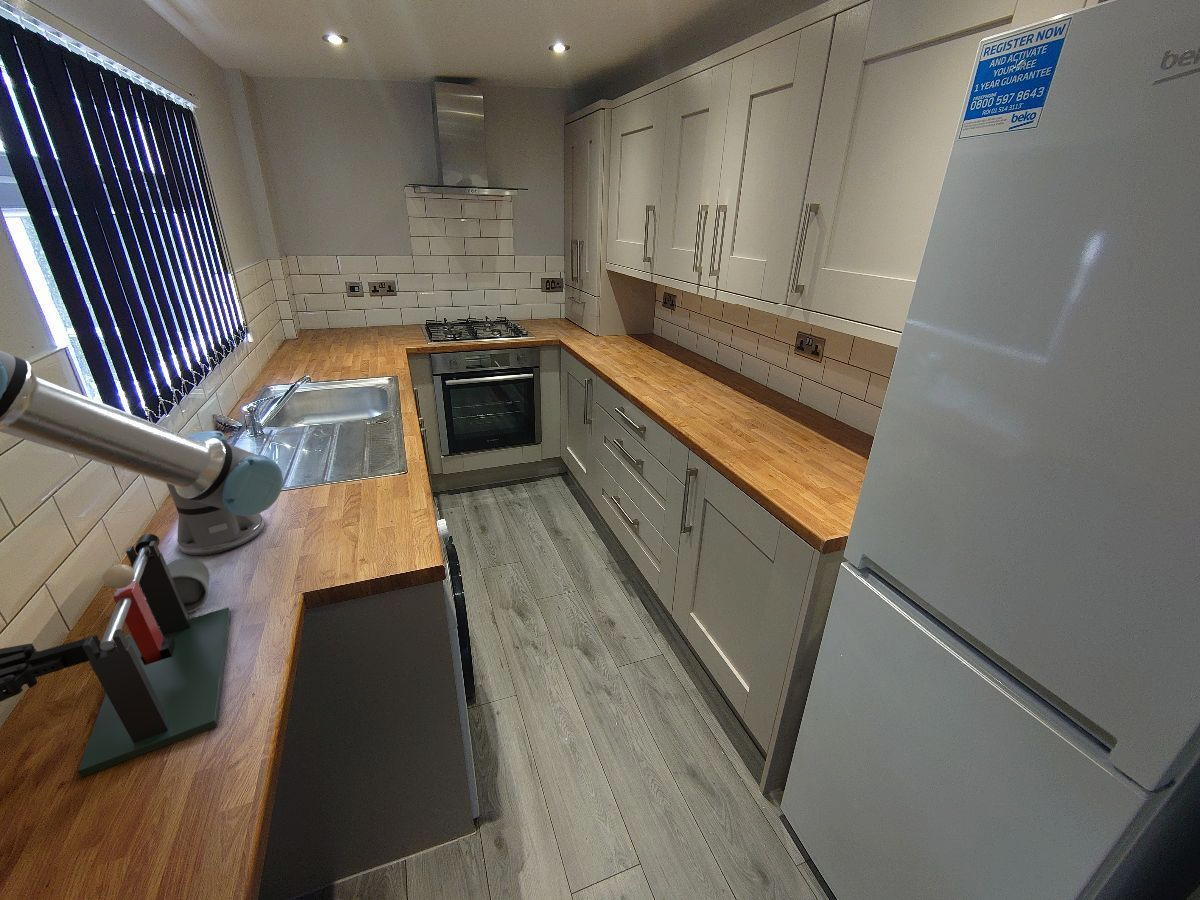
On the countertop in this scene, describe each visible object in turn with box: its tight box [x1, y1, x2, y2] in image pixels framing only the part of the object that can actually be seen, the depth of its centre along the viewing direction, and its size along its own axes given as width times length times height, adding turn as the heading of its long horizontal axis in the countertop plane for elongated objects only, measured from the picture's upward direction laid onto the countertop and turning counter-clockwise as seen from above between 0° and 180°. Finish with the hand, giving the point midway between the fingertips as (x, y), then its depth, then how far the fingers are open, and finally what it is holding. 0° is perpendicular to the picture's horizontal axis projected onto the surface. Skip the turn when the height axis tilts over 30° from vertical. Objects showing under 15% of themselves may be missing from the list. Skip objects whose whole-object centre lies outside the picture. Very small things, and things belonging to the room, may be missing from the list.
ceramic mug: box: [145, 557, 210, 617], centre depth 92 cm, size 11×8×8 cm
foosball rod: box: [99, 533, 175, 665], centre depth 74 cm, size 26×4×16 cm, turn 30°
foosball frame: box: [77, 541, 231, 778], centre depth 74 cm, size 26×14×17 cm, turn 30°
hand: (98, 646), depth 72 cm, fingers closed
